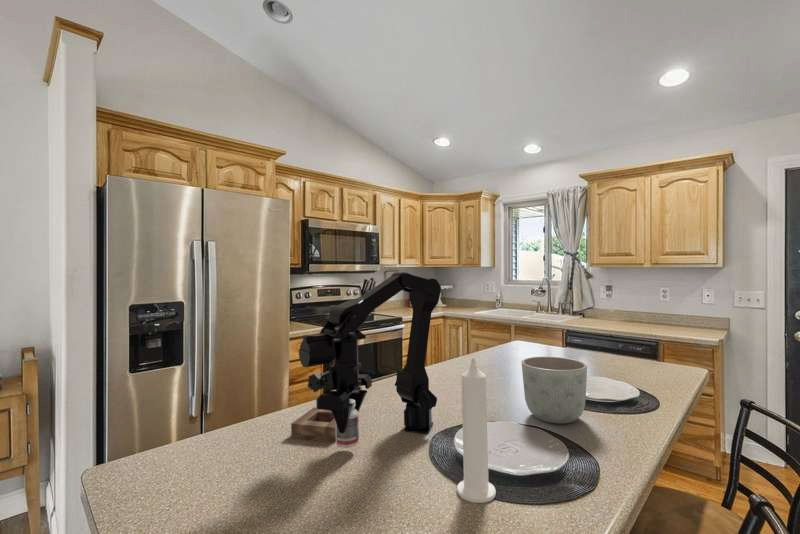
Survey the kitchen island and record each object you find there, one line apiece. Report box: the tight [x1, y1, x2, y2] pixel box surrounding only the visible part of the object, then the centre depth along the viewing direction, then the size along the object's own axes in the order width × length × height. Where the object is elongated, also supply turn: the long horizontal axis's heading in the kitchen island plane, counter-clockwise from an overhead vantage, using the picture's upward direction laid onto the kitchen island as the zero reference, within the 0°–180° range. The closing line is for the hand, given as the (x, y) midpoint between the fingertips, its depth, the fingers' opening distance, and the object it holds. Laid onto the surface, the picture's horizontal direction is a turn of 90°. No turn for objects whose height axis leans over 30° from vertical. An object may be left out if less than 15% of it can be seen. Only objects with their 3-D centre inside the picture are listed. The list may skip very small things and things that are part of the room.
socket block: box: [290, 407, 336, 443], centre depth 104 cm, size 12×12×4 cm
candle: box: [456, 357, 497, 504], centre depth 73 cm, size 7×7×25 cm
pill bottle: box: [335, 399, 360, 449], centre depth 91 cm, size 5×5×10 cm
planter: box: [520, 355, 588, 425], centre depth 109 cm, size 17×17×15 cm
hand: (347, 427), depth 91 cm, fingers closed on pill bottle, 5 cm apart
